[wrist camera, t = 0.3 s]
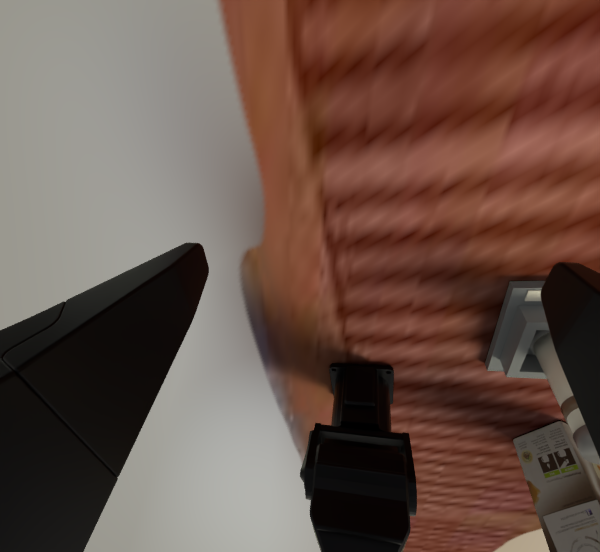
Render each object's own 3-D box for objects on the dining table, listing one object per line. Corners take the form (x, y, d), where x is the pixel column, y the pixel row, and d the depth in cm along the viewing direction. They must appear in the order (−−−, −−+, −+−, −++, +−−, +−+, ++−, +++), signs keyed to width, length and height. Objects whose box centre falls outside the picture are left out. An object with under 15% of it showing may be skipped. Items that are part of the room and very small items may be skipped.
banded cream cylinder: (573, 351, 27) (643, 469, 20) (521, 349, 28) (571, 462, 21) (591, 318, 25) (677, 439, 18) (534, 318, 25) (594, 432, 19)
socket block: (584, 367, 29) (600, 393, 27) (485, 363, 31) (492, 387, 29) (638, 279, 23) (663, 305, 21) (509, 281, 25) (522, 305, 23)
